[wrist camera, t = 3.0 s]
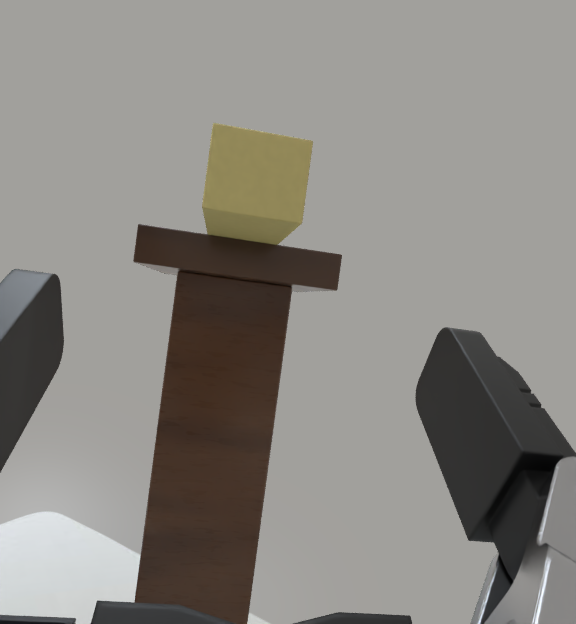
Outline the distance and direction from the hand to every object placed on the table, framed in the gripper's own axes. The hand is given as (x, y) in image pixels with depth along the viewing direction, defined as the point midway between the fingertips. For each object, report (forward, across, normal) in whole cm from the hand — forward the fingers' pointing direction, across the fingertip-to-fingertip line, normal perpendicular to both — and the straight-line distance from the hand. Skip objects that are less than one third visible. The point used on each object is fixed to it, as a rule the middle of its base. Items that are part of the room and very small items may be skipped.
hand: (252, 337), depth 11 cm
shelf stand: (+6, 0, +37) cm, 37 cm away
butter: (+17, 0, +6) cm, 18 cm away
